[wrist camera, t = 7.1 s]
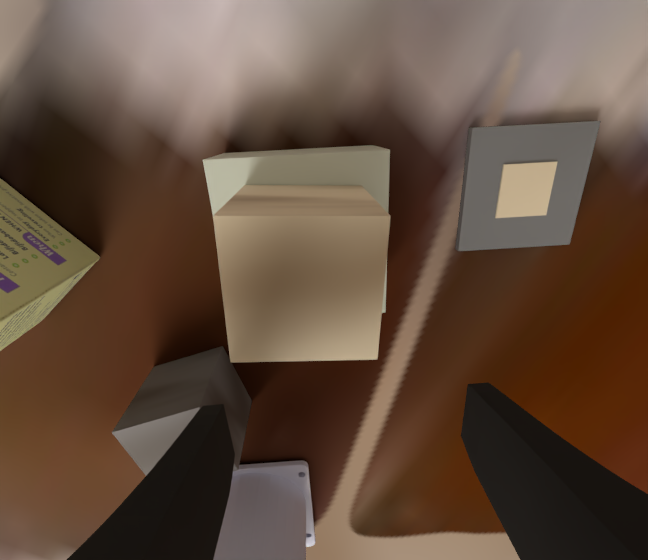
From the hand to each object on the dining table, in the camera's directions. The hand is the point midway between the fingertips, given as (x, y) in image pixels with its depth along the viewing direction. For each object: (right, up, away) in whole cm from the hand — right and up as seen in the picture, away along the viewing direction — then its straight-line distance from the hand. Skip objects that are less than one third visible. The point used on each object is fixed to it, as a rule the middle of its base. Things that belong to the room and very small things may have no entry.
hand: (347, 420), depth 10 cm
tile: (+9, +9, +7) cm, 15 cm away
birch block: (-2, +6, +4) cm, 7 cm away
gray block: (-8, -2, +11) cm, 14 cm away
